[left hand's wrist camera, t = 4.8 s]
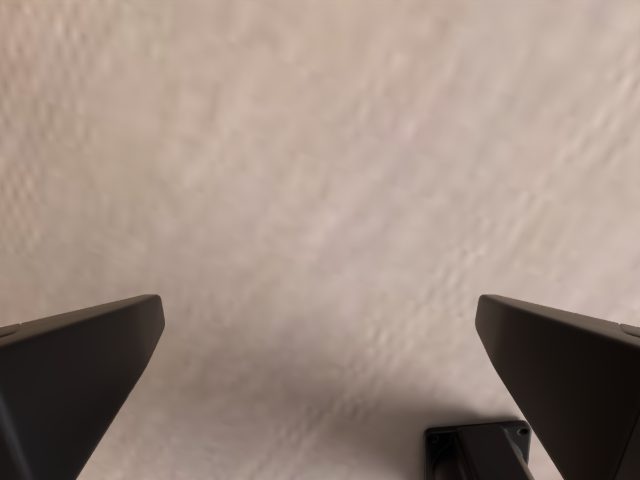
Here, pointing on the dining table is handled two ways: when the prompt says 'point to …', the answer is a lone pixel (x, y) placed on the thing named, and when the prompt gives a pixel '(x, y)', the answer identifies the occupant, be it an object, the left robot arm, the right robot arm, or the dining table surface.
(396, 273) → the dining table surface
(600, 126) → the dining table surface
